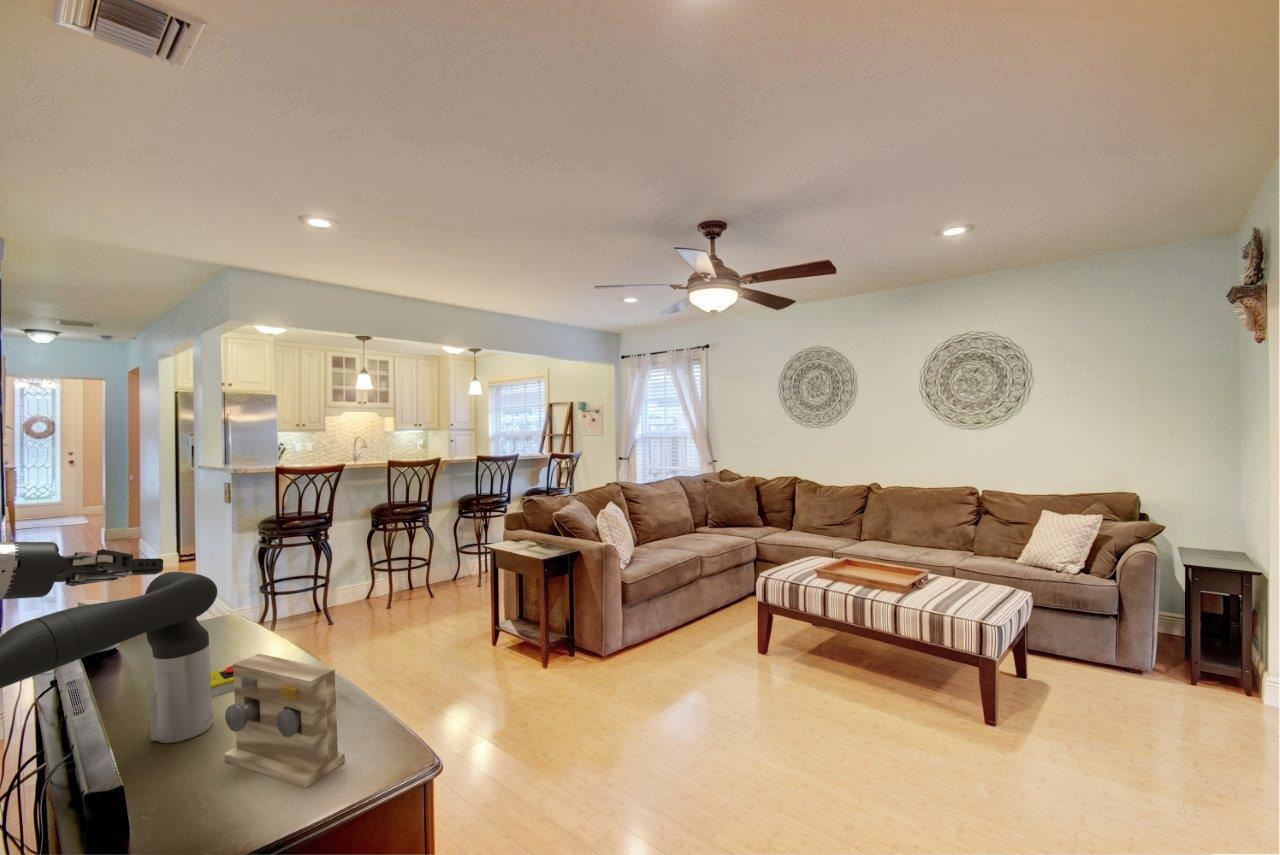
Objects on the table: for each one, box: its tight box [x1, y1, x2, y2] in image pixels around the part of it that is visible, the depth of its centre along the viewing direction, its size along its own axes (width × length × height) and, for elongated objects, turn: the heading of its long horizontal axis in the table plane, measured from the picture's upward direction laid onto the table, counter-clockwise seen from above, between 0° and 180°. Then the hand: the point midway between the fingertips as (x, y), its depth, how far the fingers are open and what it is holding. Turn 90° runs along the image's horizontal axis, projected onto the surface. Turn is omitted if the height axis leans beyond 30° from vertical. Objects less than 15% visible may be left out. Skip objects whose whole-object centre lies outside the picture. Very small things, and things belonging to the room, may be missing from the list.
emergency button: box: [211, 665, 234, 698], centre depth 142 cm, size 9×4×15 cm
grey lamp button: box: [224, 700, 260, 733], centre depth 108 cm, size 4×5×5 cm
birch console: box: [223, 653, 346, 789], centre depth 109 cm, size 8×22×18 cm, turn 68°
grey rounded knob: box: [277, 709, 301, 737], centre depth 106 cm, size 4×5×5 cm
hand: (161, 566), depth 92 cm, fingers closed
